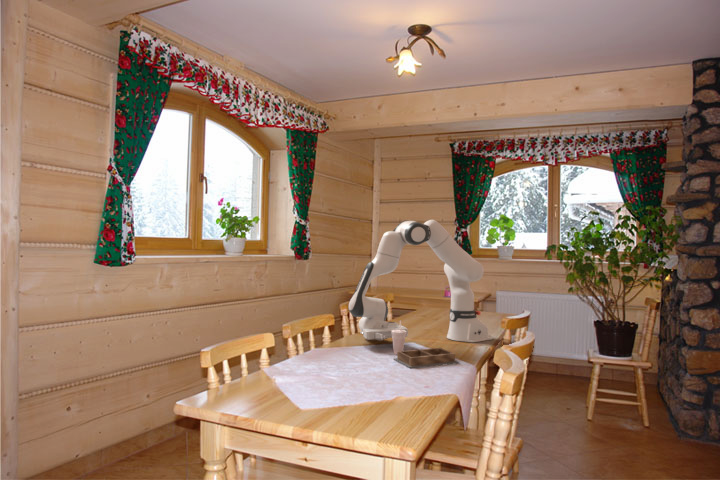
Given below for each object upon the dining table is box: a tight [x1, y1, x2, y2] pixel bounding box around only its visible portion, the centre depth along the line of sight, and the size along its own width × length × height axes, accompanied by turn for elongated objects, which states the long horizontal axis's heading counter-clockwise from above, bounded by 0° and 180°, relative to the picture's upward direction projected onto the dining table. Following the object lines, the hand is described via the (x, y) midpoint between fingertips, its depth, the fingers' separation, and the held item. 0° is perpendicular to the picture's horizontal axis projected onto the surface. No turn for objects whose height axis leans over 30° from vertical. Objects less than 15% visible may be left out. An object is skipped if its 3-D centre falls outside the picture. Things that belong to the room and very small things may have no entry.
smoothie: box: [391, 320, 407, 356], centre depth 199 cm, size 6×6×14 cm
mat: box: [393, 357, 460, 369], centre depth 188 cm, size 22×13×1 cm, turn 114°
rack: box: [396, 347, 456, 366], centre depth 188 cm, size 20×10×3 cm, turn 114°
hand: (393, 336), depth 204 cm, fingers open, 8 cm apart
